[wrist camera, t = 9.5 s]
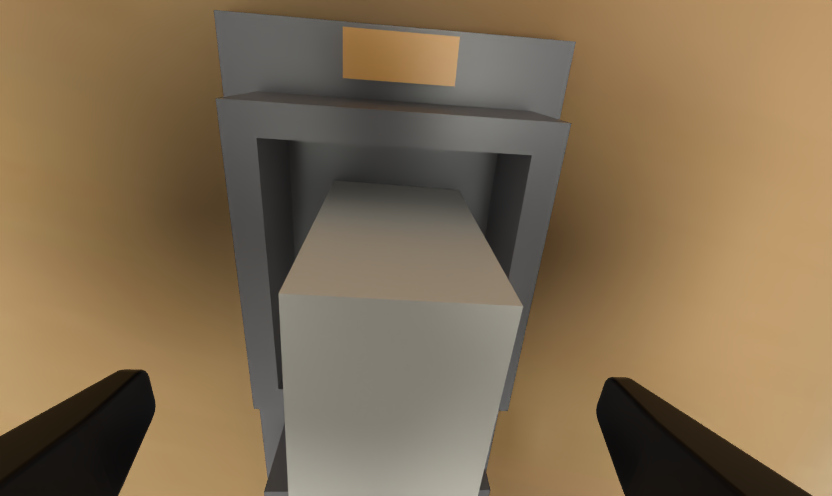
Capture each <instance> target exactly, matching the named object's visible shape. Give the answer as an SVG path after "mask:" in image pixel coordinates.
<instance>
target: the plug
mask: <svg viewBox="0 0 832 496" xmlns="http://www.w3.org/2000/svg"><path fill="white" fill-rule="evenodd" d="M522 309H523V305H522V303H521V301H520V300H519V298H518V296H517V294H516V292H515V291H514V289H513V287H512V285H511V284H510V282H509V280H508V278H507V276H506V275H505V273H504V271H503V269H502V267H501V266H500V264H499V262H498V260H497V258H496V257H495V255H494V253H493V251H492V249H491V248H490V246H489V244H488V242H487V240H486V239H485V237H484V235H483V233H482V231H481V230H480V228H479V226H478V224H477V223H476V221H475V219H474V217H473V215H472V214H471V212H470V210H469V208H468V206H467V205H466V203H465V201H464V199H463V197H462V196H461V194H460V192H459V190H450V189H437V188H425V187H412V186H399V185H386V184H374V183H361V182H348V181H335V180H334V182H333V184H332V187H331V189H330V191H329V193H328V195H327V197H326V199H325V201H324V203H323V205H322V207H321V209H320V211H319V213H318V215H317V217H316V219H315V221H314V223H313V225H312V227H311V229H310V231H309V233H308V235H307V237H306V239H305V241H304V243H303V245H302V247H301V249H300V251H299V253H298V255H297V257H296V259H295V261H294V263H293V265H292V267H291V269H290V271H289V273H288V275H287V277H286V279H285V281H284V284H283V286H282V288H281V290H280V292H279V314H280V334H281V355H282V375H283V395H284V416H285V436H286V456H287V476H288V496H478V493H479V489H480V485H481V481H482V476H483V472H484V468H485V464H486V460H487V455H488V451H489V447H490V443H491V439H492V435H493V430H494V426H495V422H496V418H497V414H498V410H499V405H500V401H501V397H502V393H503V389H504V384H505V380H506V376H507V372H508V368H509V364H510V359H511V355H512V351H513V347H514V343H515V339H516V334H517V330H518V326H519V322H520V318H521V313H522Z"/></svg>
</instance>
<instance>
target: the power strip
mask: <svg viewBox="0 0 832 496" xmlns="http://www.w3.org/2000/svg"><path fill="white" fill-rule="evenodd" d="M214 16H215V25H216V34H217V42H218V51H219V60H220V68H221V77H222V86H223V94H224V97H221V98H216V105H217V114H218V122H219V130H220V138H221V146H222V154H223V162H224V170H225V178H226V187H227V195H228V203H229V211H230V219H231V227H232V235H233V243H234V252H235V260H236V268H237V276H238V284H239V292H240V300H241V308H242V316H243V325H244V333H245V341H246V349H247V357H248V365H249V373H250V381H251V390H252V398H253V406H254V409H260V415H261V424H262V433H263V442H264V450H265V459H266V468H267V476H268V480H267V484H266V487H265V491H264V495H265V496H288V476H287V456H286V436H285V416H284V395H283V375H282V355H281V334H280V314H279V292H280V290H281V288H282V286H283V284H284V281H285V279H286V277H287V275H288V273H289V271H290V269H291V267H292V265H293V263H294V261H295V259H296V257H297V255H298V253H299V251H300V249H301V247H302V245H303V243H304V241H305V239H306V237H307V235H308V233H309V231H310V229H311V227H312V225H313V223H314V221H315V219H316V217H317V215H318V213H319V211H320V209H321V207H322V205H323V203H324V201H325V199H326V197H327V195H328V193H329V191H330V189H331V187H332V184H333V182H334V180H335V181H348V182H361V183H374V184H386V185H399V186H412V187H425V188H437V189H450V190H459V192H460V194H461V196H462V197H463V199H464V201H465V203H466V205H467V206H468V208H469V210H470V212H471V214H472V215H473V217H474V219H475V221H476V223H477V224H478V226H479V228H480V230H481V231H482V233H483V235H484V237H485V239H486V240H487V242H488V244H489V246H490V248H491V249H492V251H493V253H494V255H495V257H496V258H497V260H498V262H499V264H500V266H501V267H502V269H503V271H504V273H505V275H506V276H507V278H508V280H509V282H510V284H511V285H512V287H513V289H514V291H515V292H516V294H517V296H518V298H519V300H520V301H521V303H522V305H523V309H522V313H521V318H520V322H519V326H518V330H517V334H516V339H515V343H514V347H513V351H512V355H511V359H510V364H509V368H508V372H507V376H506V380H505V384H504V389H503V393H502V397H501V401H500V405H499V410H498V412H499V411H508V407H509V403H510V398H511V394H512V389H513V385H514V380H515V376H516V371H517V367H518V362H519V358H520V353H521V349H522V344H523V339H524V335H525V330H526V326H527V321H528V317H529V312H530V308H531V303H532V299H533V294H534V290H535V285H536V281H537V276H538V272H539V267H540V262H541V258H542V253H543V249H544V244H545V240H546V235H547V231H548V226H549V222H550V217H551V213H552V208H553V204H554V199H555V195H556V190H557V186H558V181H559V176H560V172H561V167H562V163H563V158H564V154H565V149H566V145H567V140H568V136H569V131H570V127H571V123H569V122H565V121H562V120H559V119H560V115H561V110H562V105H563V100H564V95H565V91H566V86H567V81H568V76H569V71H570V67H571V62H572V57H573V52H574V48H575V43H576V42H573V41H561V40H550V39H538V38H527V37H516V36H504V35H493V34H481V33H470V32H459V31H447V30H436V29H424V28H413V27H402V26H390V25H379V24H367V23H356V22H345V21H333V20H322V19H310V18H299V17H287V16H276V15H265V14H253V13H242V12H230V11H219V10H214ZM497 417H498V414H497ZM496 421H497V418H496ZM495 426H496V422H495ZM495 426H494V430H493V435H492V439H491V443H490V447H489V451H488V455H487V460H486V464H485V468H484V472H483V476H482V481H481V485H480V489H479V493H478V496H489V493H490V487H489V483H488V478H487V474H486V469H487V465H488V460H489V455H490V450H491V445H492V441H493V436H494V431H495Z"/></svg>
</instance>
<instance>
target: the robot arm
mask: <svg viewBox="0 0 832 496" xmlns="http://www.w3.org/2000/svg"><path fill="white" fill-rule="evenodd" d="M154 412H155V399H154V395H153V391H152V387H151V383H150V379H149V376H148V373H147V372H146V371H144V370H131V369H124V370H119V371H117V372H115V373H113V374H112V375H110V376H108V377H106V378H104V379H103V380H101V381H99V382H97V383H95V384H93V385H92V386H90V387H88V388H86V389H84V390H83V391H81V392H79V393H77V394H75V395H74V396H72V397H70V398H68V399H66V400H65V401H63V402H61V403H59V404H57V405H56V406H54V407H52V408H50V409H48V410H47V411H45V412H43V413H41V414H39V415H38V416H36V417H34V418H32V419H30V420H29V421H27V422H25V423H23V424H21V425H19V426H18V427H16V428H14V429H12V430H10V431H9V432H7V433H5V434H3V435H1V436H0V496H118V495H119V493H120V491H121V488H122V486H123V484H124V482H125V480H126V477H127V475H128V473H129V470H130V468H131V466H132V464H133V461H134V459H135V457H136V455H137V452H138V450H139V448H140V445H141V443H142V441H143V439H144V436H145V434H146V432H147V430H148V427H149V425H150V423H151V420H152V418H153V416H154ZM596 414H597V419H598V422H599V425H600V428H601V430H602V433H603V436H604V439H605V442H606V445H607V447H608V450H609V453H610V456H611V459H612V462H613V464H614V467H615V470H616V473H617V476H618V478H619V481H620V484H621V486H622V489H623V492H624V494H625V496H812V495H811V494H809V493H807V492H806V491H804V490H803V489H801V488H800V487H798V486H797V485H795V484H793V483H792V482H790V481H789V480H787V479H786V478H784V477H783V476H781V475H779V474H778V473H776V472H775V471H773V470H772V469H770V468H769V467H767V466H765V465H764V464H762V463H761V462H759V461H758V460H756V459H755V458H753V457H751V456H750V455H748V454H747V453H745V452H744V451H742V450H741V449H739V448H737V447H736V446H734V445H733V444H731V443H730V442H728V441H727V440H725V439H724V438H722V437H720V436H719V435H717V434H716V433H714V432H713V431H711V430H710V429H708V428H706V427H705V426H703V425H702V424H700V423H699V422H697V421H696V420H694V419H692V418H691V417H689V416H688V415H686V414H685V413H683V412H682V411H680V410H678V409H677V408H675V407H674V406H672V405H671V404H669V403H668V402H666V401H664V400H663V399H661V398H660V397H658V396H657V395H655V394H654V393H652V392H650V391H649V390H647V389H646V388H644V387H643V386H641V385H640V384H638V383H636V382H635V381H633V380H632V379H630V378H626V377H610V378H608V379H607V380H606V381H605V384H604V387H603V390H602V392H601V395H600V398H599V401H598V404H597V409H596Z"/></svg>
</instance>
